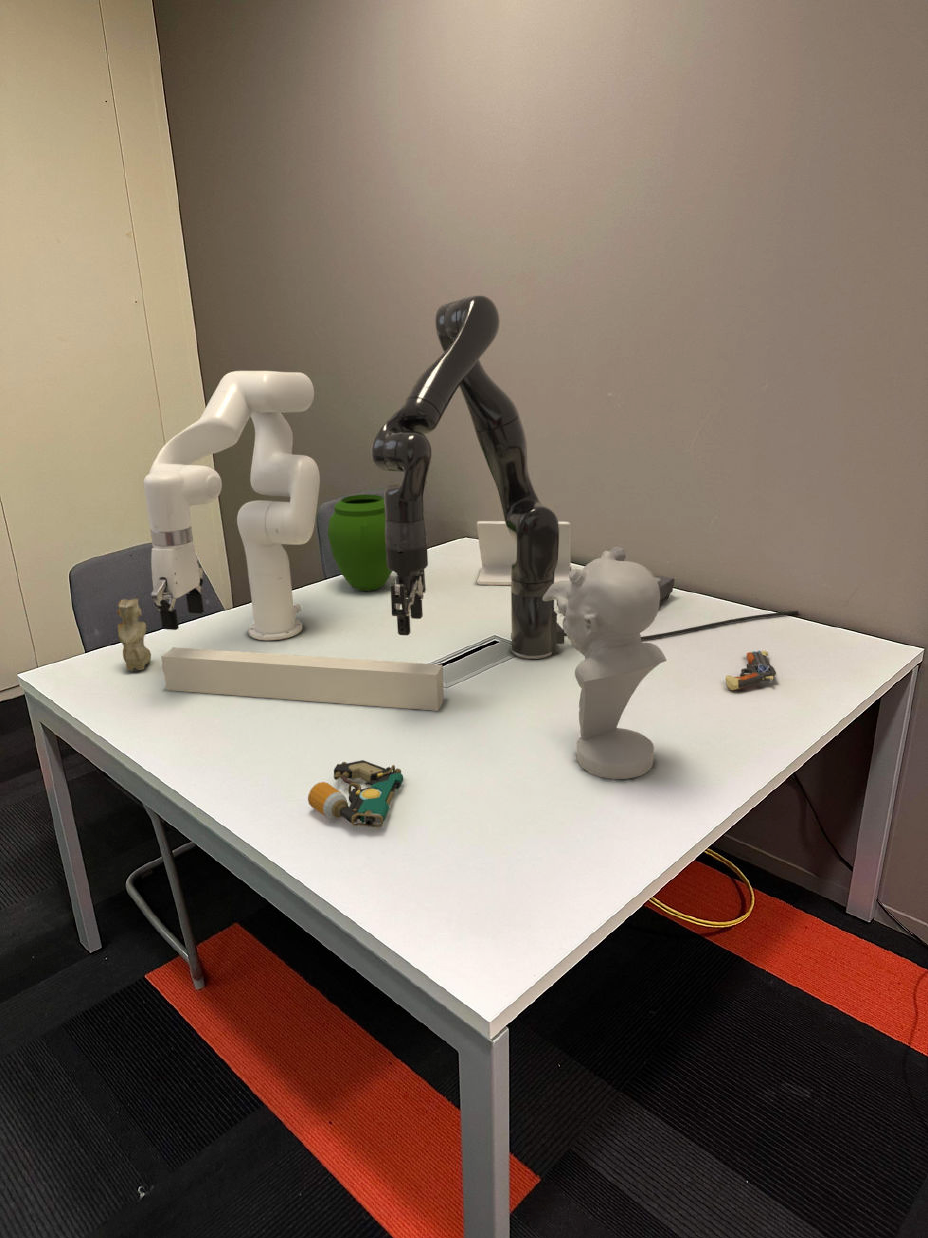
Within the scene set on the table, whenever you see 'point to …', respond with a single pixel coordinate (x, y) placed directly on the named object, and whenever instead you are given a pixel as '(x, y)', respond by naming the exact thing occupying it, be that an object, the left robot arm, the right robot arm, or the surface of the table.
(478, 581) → the tablet stand
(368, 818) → the spray gun
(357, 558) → the vase
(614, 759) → the bust sculpture
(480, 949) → the table surface
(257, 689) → the bar
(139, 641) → the sculpture
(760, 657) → the toy gun
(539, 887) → the table surface
